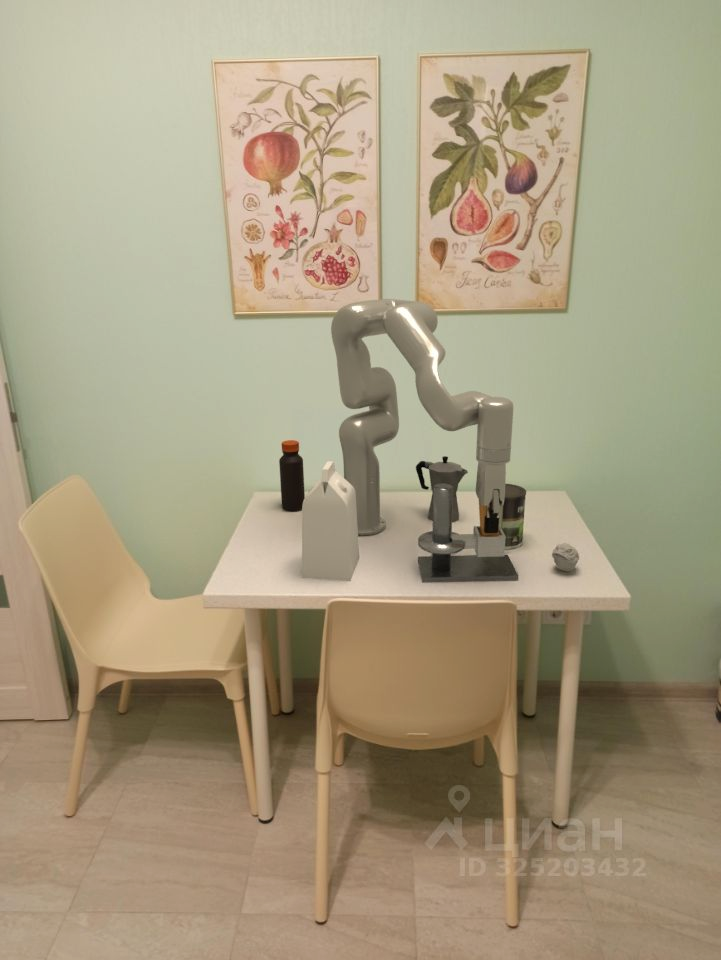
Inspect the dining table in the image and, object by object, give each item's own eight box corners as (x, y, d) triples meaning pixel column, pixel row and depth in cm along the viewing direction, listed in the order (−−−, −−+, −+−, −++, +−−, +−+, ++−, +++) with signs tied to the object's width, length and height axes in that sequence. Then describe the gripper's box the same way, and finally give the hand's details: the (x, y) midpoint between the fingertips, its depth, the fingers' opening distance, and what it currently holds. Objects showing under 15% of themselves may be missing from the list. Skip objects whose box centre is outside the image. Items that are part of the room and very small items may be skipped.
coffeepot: (471, 516, 192) (474, 455, 186) (458, 527, 185) (460, 464, 179) (422, 506, 200) (423, 447, 194) (408, 517, 192) (408, 456, 186)
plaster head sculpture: (544, 571, 160) (547, 544, 158) (560, 561, 165) (562, 535, 163) (568, 579, 156) (571, 552, 154) (583, 569, 161) (586, 542, 158)
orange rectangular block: (483, 543, 157) (481, 499, 153) (480, 536, 160) (478, 493, 157) (499, 541, 157) (497, 497, 153) (495, 535, 160) (493, 491, 157)
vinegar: (295, 513, 196) (292, 447, 189) (277, 509, 199) (273, 443, 193) (309, 506, 201) (306, 441, 195) (291, 502, 205) (288, 438, 198)
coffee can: (525, 535, 179) (528, 485, 175) (519, 551, 170) (523, 499, 165) (486, 530, 183) (488, 481, 178) (478, 546, 174) (481, 494, 169)
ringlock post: (420, 582, 156) (421, 496, 149) (415, 561, 166) (416, 479, 159) (518, 580, 156) (524, 494, 149) (507, 558, 167) (512, 477, 159)
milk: (314, 555, 170) (309, 456, 161) (359, 558, 168) (357, 458, 160) (301, 577, 159) (296, 472, 150) (350, 581, 157) (347, 474, 148)
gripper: (470, 442, 159) (467, 515, 166) (483, 465, 144) (479, 544, 150) (502, 442, 159) (497, 514, 166) (518, 464, 144) (513, 543, 150)
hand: (489, 528), depth 158 cm, fingers closed on orange rectangular block, 3 cm apart
